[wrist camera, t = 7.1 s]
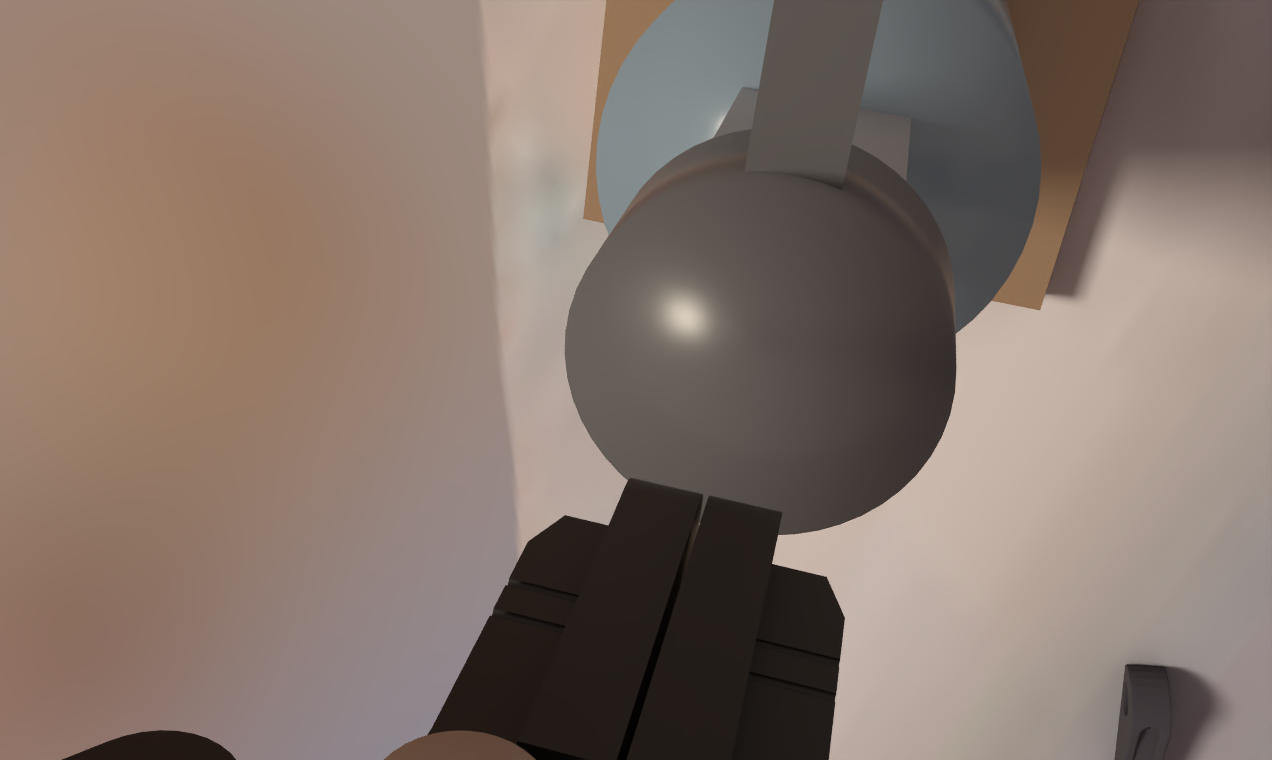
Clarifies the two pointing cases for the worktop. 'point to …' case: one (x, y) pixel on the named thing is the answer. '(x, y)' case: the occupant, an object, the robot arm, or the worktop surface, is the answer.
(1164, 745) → the bracket
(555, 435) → the worktop surface
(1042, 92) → the soap dispenser
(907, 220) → the grey dome cap
